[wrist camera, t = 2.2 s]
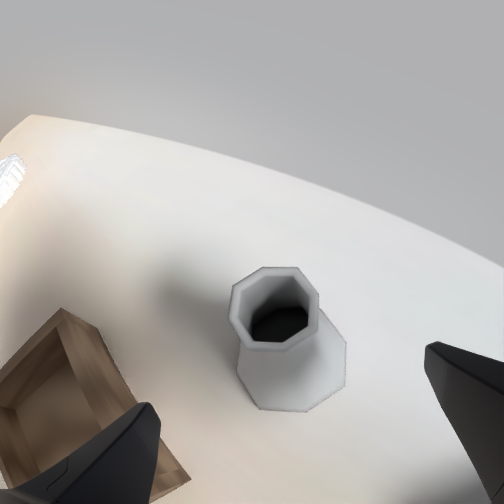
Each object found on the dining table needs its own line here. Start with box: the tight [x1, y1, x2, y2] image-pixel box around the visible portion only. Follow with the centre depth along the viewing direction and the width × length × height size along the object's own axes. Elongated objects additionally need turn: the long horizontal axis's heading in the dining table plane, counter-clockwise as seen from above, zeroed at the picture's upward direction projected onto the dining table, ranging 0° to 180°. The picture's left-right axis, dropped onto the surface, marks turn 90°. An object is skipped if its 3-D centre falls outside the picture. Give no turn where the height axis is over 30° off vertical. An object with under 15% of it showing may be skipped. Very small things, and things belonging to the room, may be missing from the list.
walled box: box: [0, 308, 191, 504], centre depth 15 cm, size 14×14×5 cm
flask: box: [228, 267, 346, 412], centre depth 14 cm, size 7×7×10 cm
